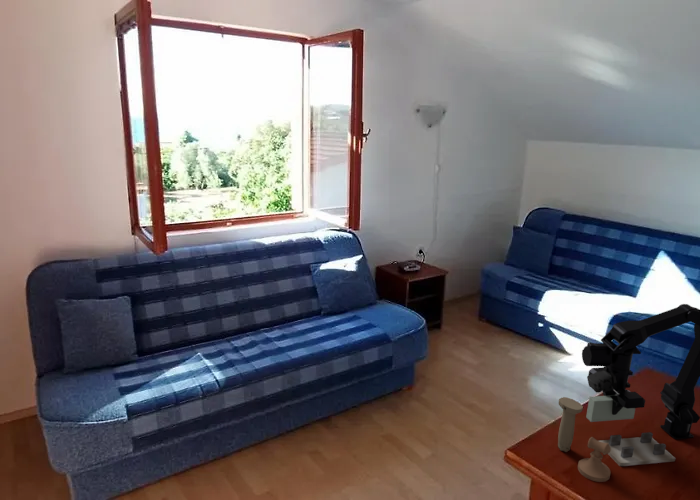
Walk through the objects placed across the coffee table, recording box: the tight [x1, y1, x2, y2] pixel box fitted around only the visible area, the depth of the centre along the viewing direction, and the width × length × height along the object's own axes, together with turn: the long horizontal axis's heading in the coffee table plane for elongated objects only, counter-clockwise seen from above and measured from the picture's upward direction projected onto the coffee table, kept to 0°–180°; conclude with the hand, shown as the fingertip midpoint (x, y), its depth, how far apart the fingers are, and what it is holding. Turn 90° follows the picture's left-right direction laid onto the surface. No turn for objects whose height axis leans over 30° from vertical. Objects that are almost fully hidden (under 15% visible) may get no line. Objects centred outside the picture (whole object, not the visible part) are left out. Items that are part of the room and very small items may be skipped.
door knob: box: [577, 436, 612, 483], centre depth 140 cm, size 8×10×8 cm
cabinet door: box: [585, 395, 636, 423], centre depth 156 cm, size 14×2×7 cm, turn 98°
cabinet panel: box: [599, 431, 676, 467], centre depth 149 cm, size 17×10×4 cm, turn 99°
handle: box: [557, 396, 584, 453], centre depth 148 cm, size 5×6×15 cm
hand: (610, 411), depth 157 cm, fingers closed on cabinet door, 2 cm apart
